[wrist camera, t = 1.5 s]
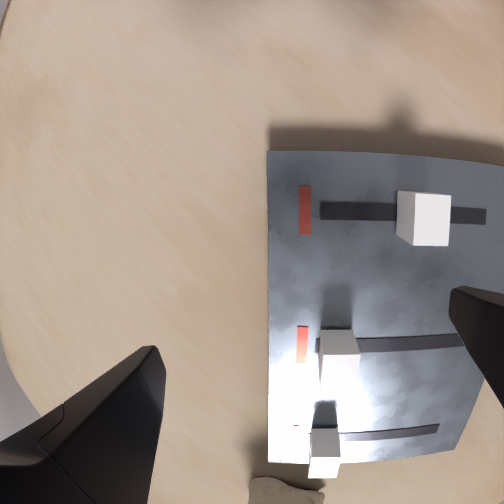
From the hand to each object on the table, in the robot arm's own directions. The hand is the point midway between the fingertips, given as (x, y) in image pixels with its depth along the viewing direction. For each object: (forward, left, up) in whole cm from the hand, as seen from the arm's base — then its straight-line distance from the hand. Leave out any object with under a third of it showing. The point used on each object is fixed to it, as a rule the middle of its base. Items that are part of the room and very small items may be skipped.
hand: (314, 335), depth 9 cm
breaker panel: (-7, +8, -16) cm, 19 cm away
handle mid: (-2, +8, -13) cm, 16 cm away
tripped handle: (-7, -2, -13) cm, 15 cm away
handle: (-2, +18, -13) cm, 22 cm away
